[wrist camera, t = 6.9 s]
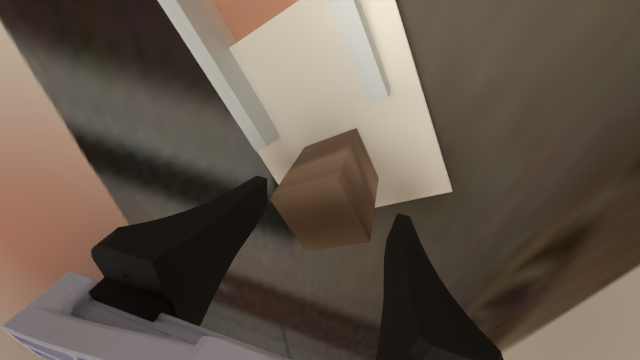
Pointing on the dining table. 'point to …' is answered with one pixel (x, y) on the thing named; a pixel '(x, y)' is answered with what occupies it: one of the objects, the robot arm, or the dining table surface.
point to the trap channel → (319, 82)
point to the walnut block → (329, 193)
